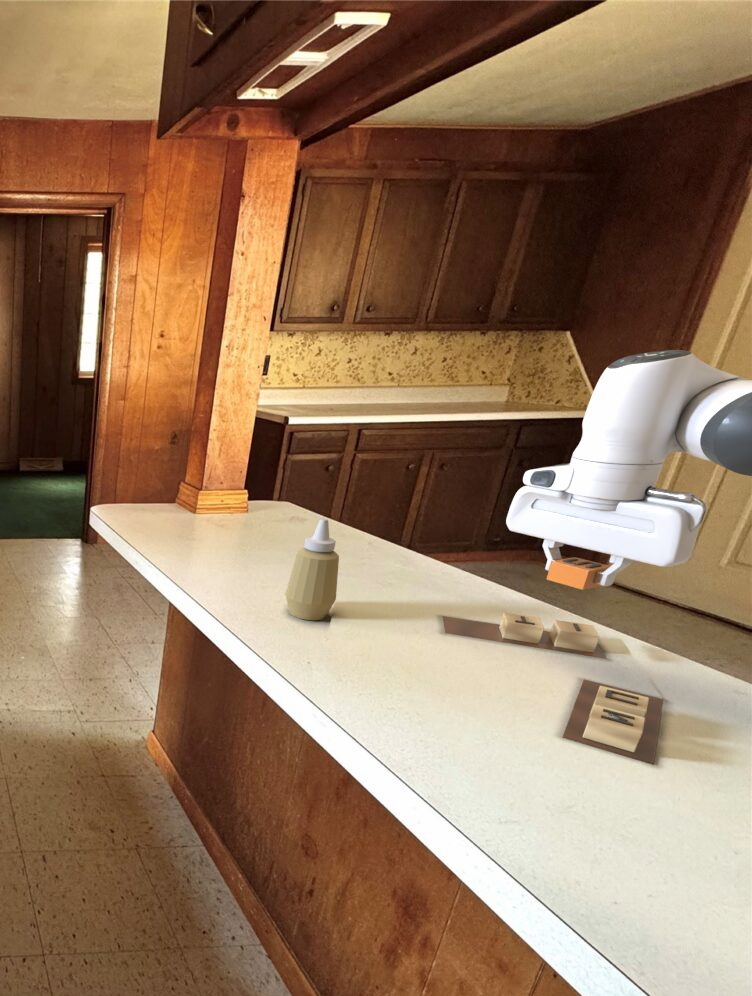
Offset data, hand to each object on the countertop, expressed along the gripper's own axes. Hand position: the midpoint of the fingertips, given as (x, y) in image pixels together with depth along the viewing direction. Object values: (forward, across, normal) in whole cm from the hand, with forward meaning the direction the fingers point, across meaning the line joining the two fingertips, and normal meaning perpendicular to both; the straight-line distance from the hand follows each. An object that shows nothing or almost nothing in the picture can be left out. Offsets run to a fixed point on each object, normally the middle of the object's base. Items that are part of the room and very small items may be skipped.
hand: (576, 577), depth 93 cm
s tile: (+1, 0, 0) cm, 1 cm away
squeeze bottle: (+15, +29, +16) cm, 36 cm away
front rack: (+15, -13, +8) cm, 21 cm away
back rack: (+15, +8, -6) cm, 18 cm away
